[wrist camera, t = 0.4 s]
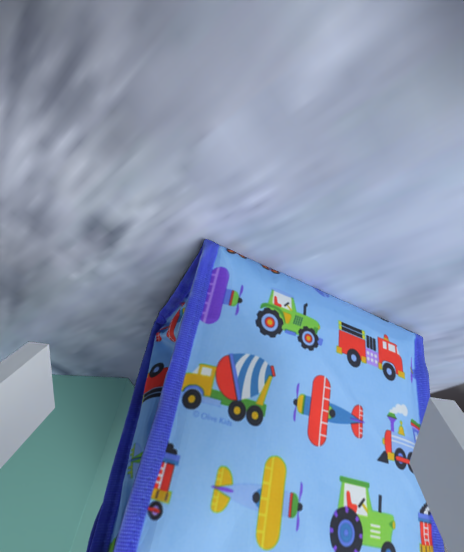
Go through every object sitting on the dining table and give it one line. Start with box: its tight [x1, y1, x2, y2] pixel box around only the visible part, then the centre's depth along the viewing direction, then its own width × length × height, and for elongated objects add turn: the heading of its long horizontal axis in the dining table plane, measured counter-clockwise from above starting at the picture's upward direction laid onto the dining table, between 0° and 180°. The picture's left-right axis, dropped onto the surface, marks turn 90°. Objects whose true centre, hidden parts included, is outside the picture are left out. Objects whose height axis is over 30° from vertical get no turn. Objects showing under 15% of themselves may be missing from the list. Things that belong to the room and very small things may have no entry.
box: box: [0, 375, 135, 552], centre depth 47 cm, size 23×21×26 cm
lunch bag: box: [86, 239, 445, 552], centre depth 24 cm, size 22×14×29 cm, turn 63°
